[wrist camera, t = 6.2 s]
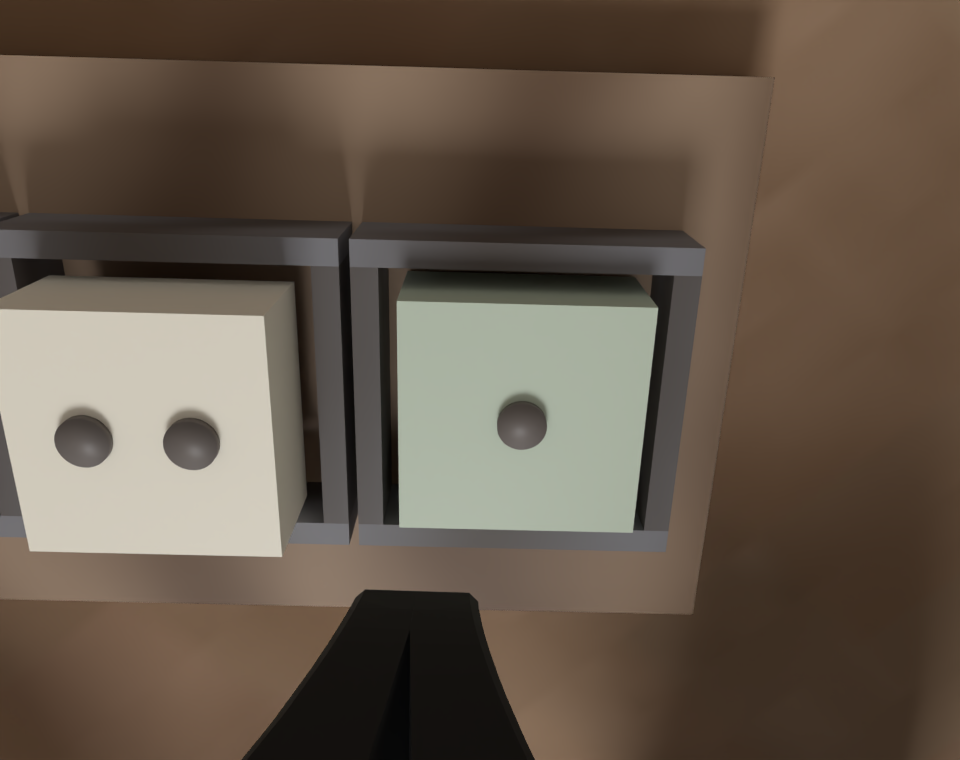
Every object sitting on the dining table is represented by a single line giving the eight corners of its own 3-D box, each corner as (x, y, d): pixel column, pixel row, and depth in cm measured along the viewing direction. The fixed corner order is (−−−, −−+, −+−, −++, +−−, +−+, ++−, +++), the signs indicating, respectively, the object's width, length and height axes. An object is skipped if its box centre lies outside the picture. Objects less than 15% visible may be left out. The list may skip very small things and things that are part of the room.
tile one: (634, 277, 16) (660, 310, 13) (614, 478, 17) (634, 537, 15) (407, 271, 16) (395, 303, 13) (408, 473, 17) (398, 532, 15)
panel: (748, 76, 16) (811, 78, 13) (677, 577, 20) (712, 664, 17) (-355, 44, 16) (-551, 38, 13) (-185, 557, 20) (-302, 642, 17)
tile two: (294, 281, 15) (261, 319, 12) (306, 495, 16) (279, 562, 14) (48, 275, 14) (-28, 312, 12) (86, 490, 16) (25, 556, 14)
